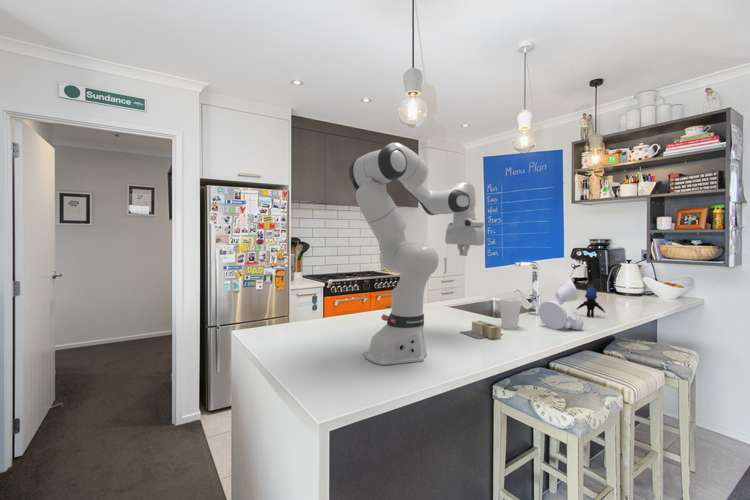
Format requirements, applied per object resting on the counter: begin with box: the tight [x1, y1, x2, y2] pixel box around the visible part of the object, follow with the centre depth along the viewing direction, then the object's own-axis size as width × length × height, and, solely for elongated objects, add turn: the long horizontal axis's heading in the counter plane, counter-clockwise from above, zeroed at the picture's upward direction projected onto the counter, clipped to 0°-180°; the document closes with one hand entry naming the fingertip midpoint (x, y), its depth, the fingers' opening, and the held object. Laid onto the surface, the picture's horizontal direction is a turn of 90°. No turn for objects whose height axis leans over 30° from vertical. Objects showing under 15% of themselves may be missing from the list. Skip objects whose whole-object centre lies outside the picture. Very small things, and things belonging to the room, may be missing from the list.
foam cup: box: [498, 296, 522, 330], centre depth 169 cm, size 10×9×13 cm
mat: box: [459, 329, 504, 340], centre depth 159 cm, size 14×11×1 cm
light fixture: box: [538, 279, 584, 331], centre depth 171 cm, size 25×16×18 cm
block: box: [471, 320, 502, 340], centre depth 156 cm, size 4×5×12 cm
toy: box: [576, 287, 606, 318], centre depth 193 cm, size 13×6×15 cm, turn 58°
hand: (463, 255), depth 156 cm, fingers closed
